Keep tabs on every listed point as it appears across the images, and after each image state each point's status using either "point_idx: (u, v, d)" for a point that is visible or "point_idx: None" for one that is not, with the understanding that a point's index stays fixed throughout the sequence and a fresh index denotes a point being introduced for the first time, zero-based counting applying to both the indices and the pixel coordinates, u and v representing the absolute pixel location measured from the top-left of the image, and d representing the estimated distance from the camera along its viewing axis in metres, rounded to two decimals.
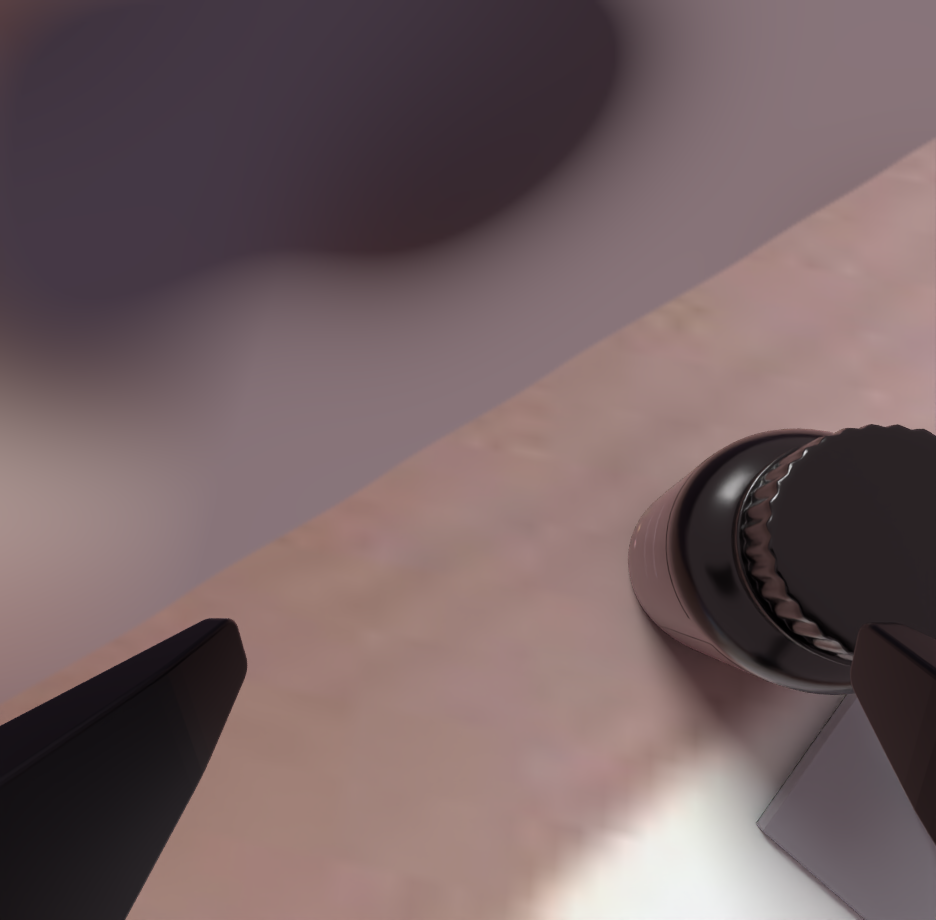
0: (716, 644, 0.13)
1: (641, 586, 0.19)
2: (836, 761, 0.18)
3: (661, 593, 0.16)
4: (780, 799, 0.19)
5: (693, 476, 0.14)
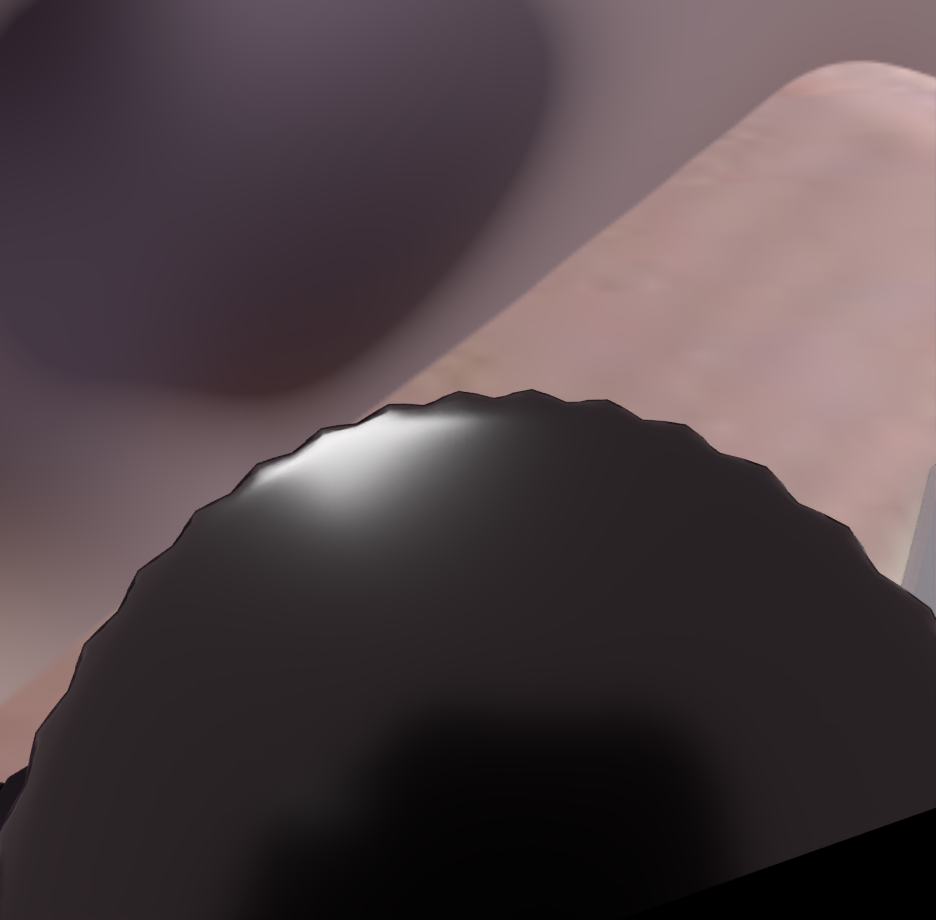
0: None
1: None
2: None
3: None
4: None
5: None
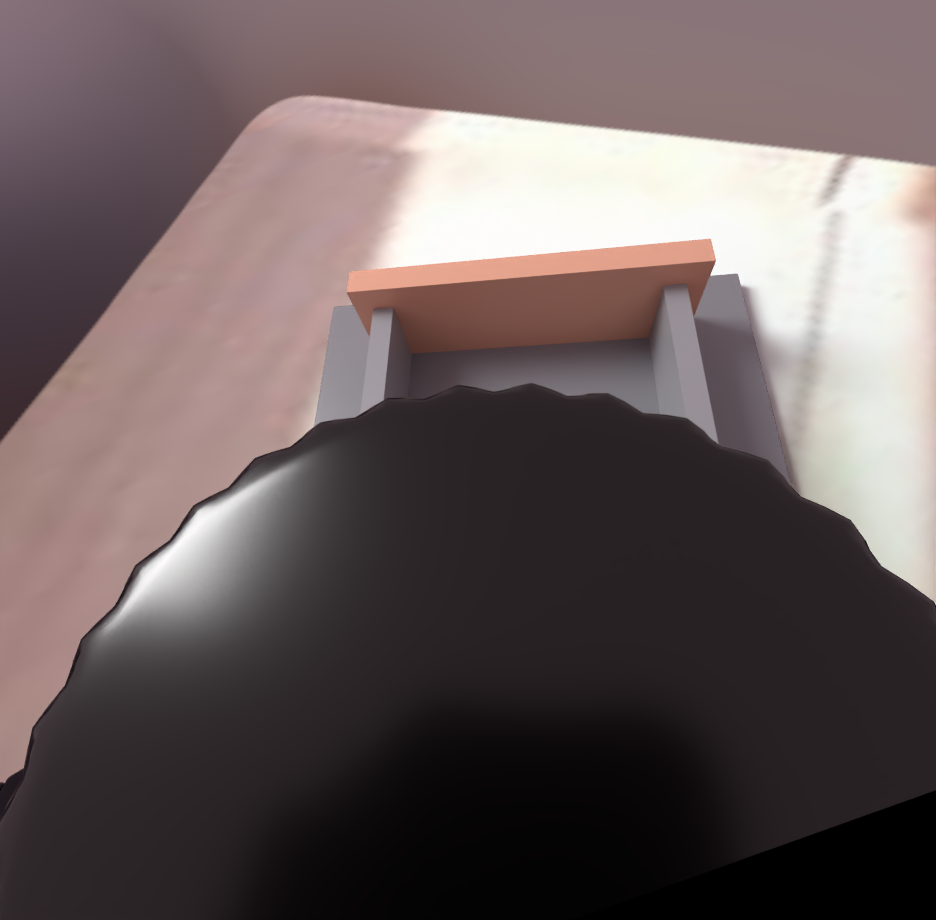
0: None
1: None
2: None
3: None
4: None
5: None
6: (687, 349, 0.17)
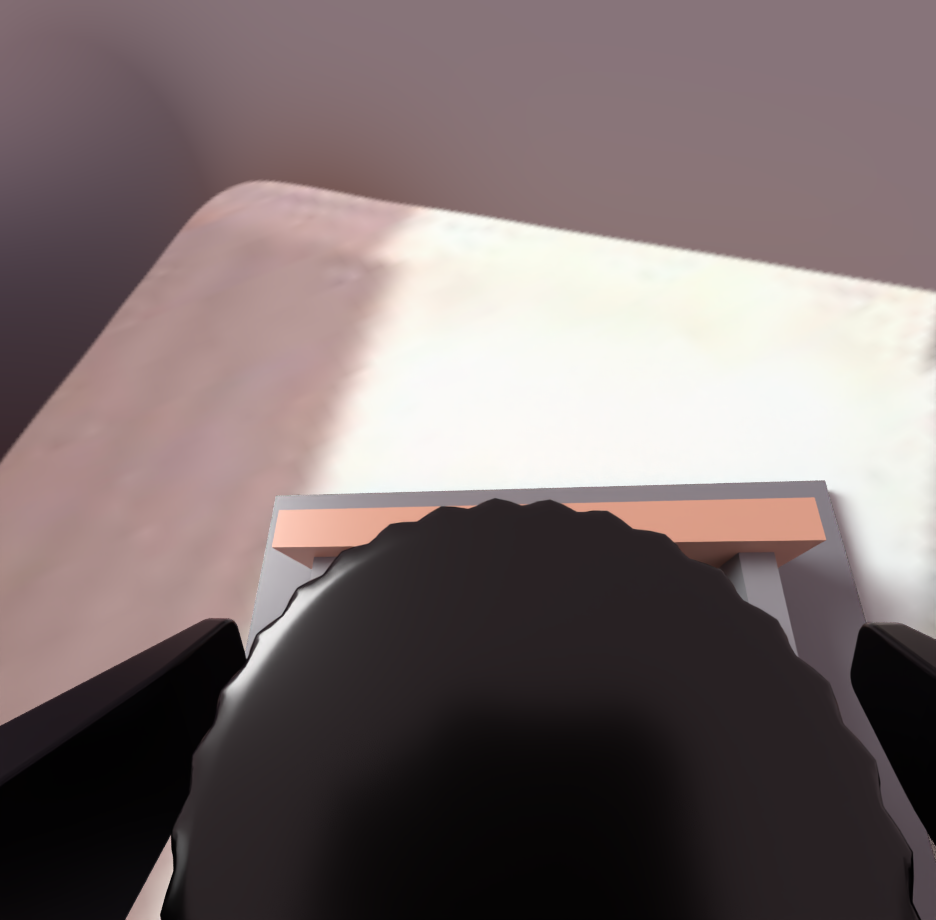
0: None
1: None
2: None
3: None
4: None
5: None
6: None
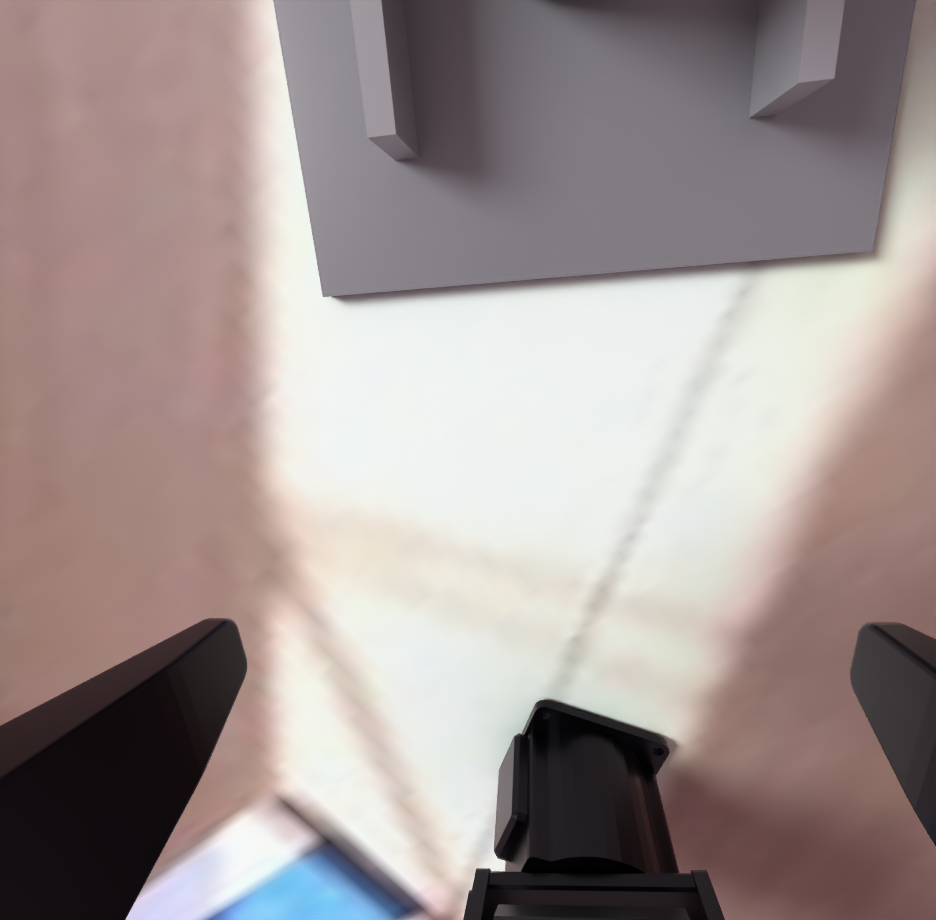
0: None
1: None
2: (321, 182, 0.17)
3: None
4: (319, 258, 0.18)
5: None
6: None
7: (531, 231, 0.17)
